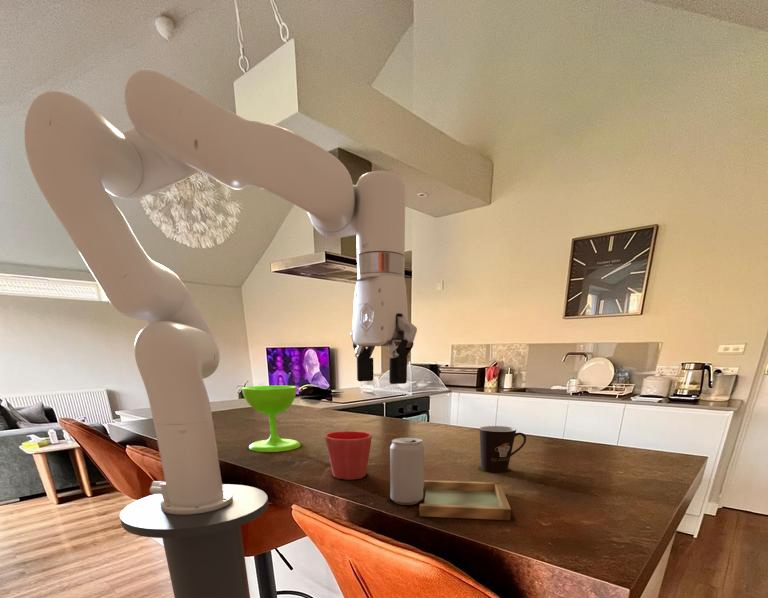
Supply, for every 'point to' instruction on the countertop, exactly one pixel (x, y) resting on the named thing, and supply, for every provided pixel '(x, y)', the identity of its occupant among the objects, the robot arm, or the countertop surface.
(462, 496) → the wooden tray
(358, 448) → the flower pot
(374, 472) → the countertop surface
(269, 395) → the wineglass
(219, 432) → the countertop surface
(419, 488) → the beverage can
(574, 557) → the countertop surface
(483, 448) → the coffee mug
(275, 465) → the countertop surface
